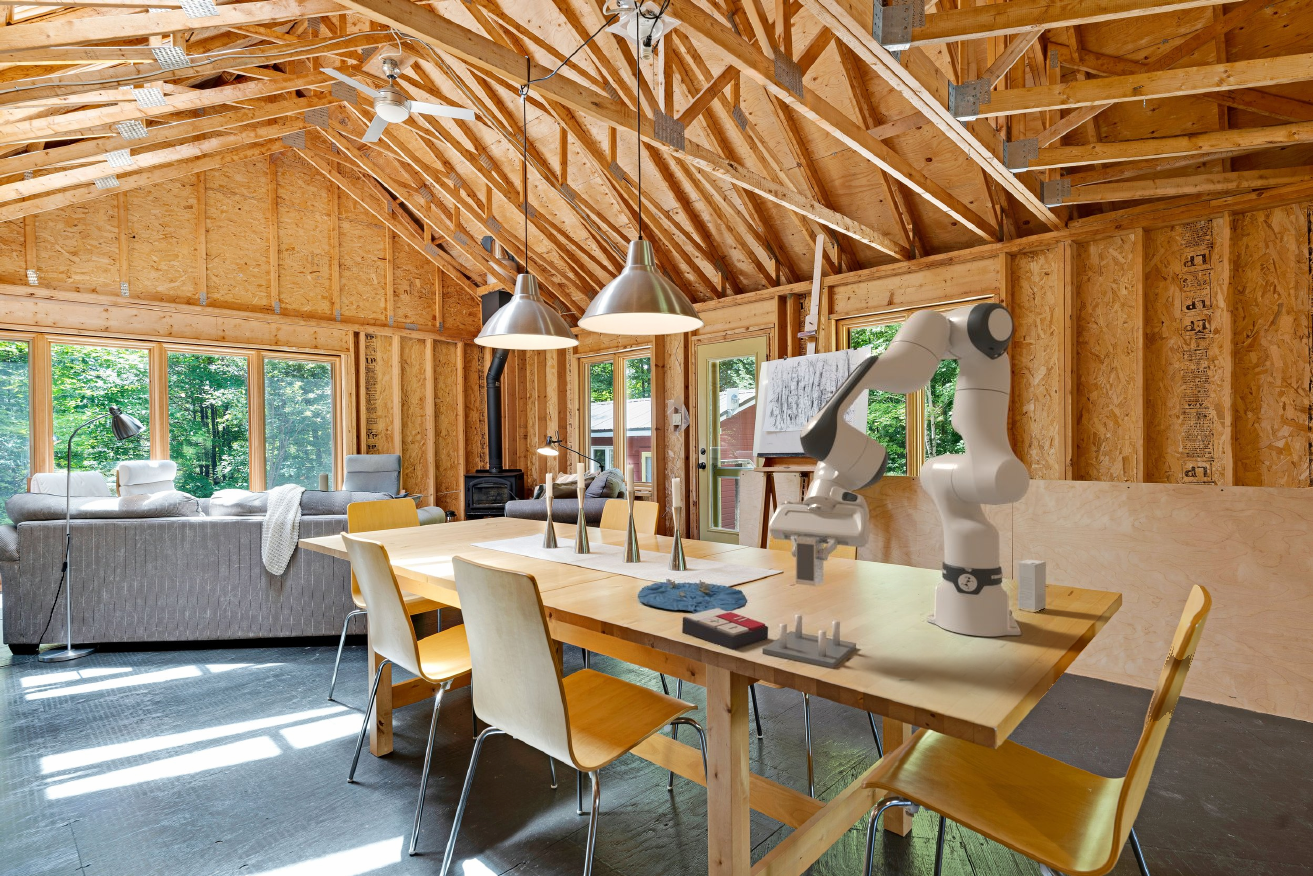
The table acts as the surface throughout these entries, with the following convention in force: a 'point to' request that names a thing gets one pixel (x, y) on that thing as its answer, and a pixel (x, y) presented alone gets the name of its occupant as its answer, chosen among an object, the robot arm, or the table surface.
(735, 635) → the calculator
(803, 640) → the pin tray
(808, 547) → the block
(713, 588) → the blue sea diorama
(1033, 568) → the skincare box
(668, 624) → the table surface
